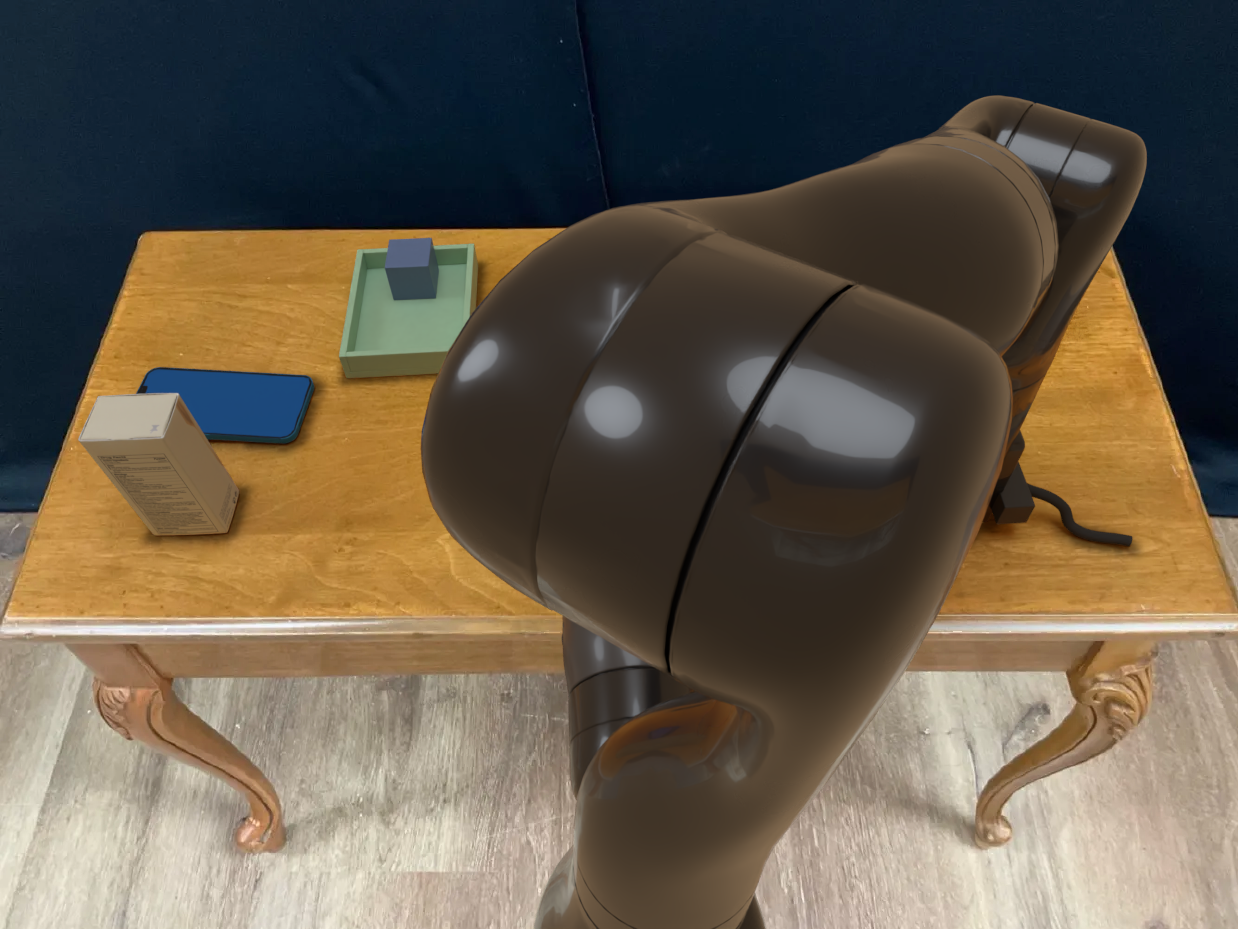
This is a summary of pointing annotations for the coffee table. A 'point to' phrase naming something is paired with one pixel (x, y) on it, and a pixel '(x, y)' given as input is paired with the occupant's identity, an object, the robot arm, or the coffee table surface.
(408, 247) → the block
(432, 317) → the tray
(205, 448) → the cosmetic box
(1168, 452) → the coffee table surface
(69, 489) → the coffee table surface
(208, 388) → the smartphone
